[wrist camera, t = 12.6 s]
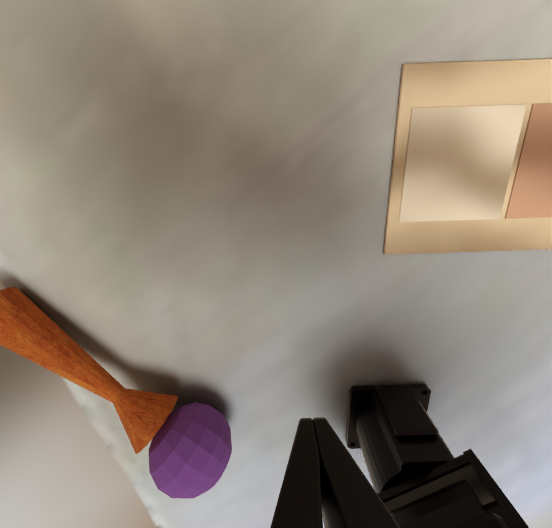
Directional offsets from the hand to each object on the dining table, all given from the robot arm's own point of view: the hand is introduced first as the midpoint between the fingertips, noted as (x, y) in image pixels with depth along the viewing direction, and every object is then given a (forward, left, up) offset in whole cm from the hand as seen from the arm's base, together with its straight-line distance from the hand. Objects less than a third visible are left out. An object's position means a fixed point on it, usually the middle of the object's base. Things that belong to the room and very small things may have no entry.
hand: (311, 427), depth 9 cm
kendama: (-7, +13, -12) cm, 19 cm away
